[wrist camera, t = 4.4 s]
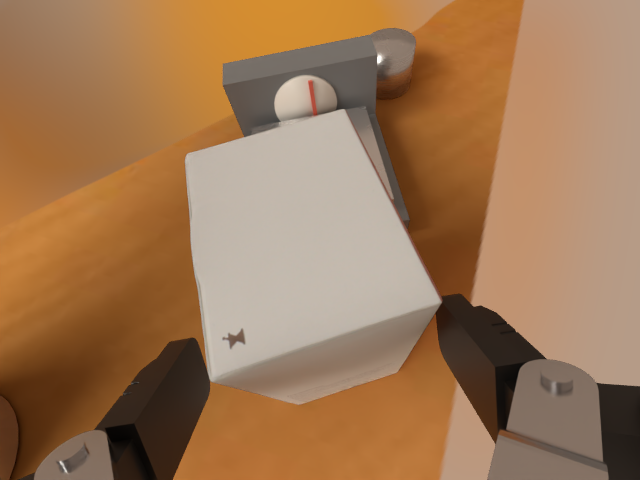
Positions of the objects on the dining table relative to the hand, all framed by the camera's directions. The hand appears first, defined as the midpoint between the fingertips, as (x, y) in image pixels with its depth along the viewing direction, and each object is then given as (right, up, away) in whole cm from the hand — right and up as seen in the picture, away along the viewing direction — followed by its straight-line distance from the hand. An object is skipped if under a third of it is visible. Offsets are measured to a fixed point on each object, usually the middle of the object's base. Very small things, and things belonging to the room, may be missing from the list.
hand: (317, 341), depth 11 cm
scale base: (0, +8, +16) cm, 18 cm away
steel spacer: (+7, +18, +21) cm, 29 cm away
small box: (+1, -2, +11) cm, 11 cm away
